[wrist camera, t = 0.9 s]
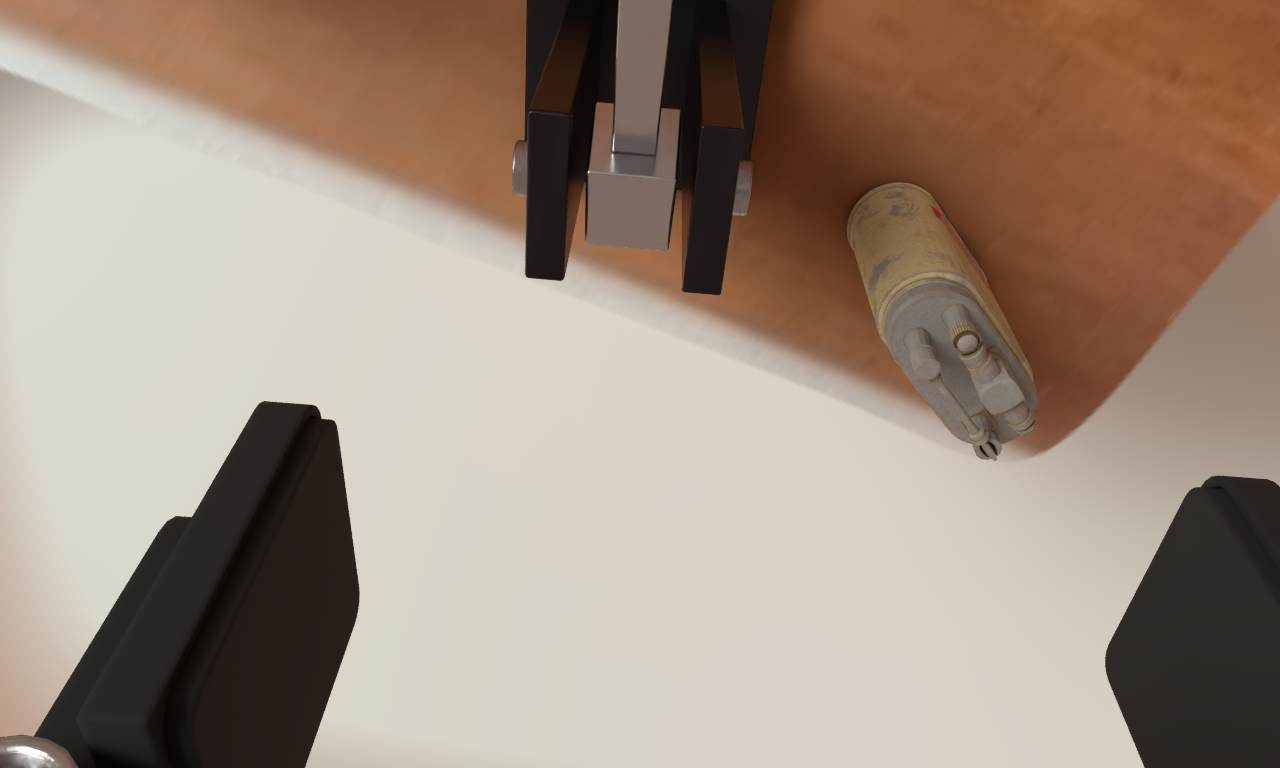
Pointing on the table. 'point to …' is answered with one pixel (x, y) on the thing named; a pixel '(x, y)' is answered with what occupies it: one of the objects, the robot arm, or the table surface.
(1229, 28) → the table surface
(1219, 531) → the robot arm
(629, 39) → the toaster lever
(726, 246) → the black upright stand
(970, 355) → the lighter
